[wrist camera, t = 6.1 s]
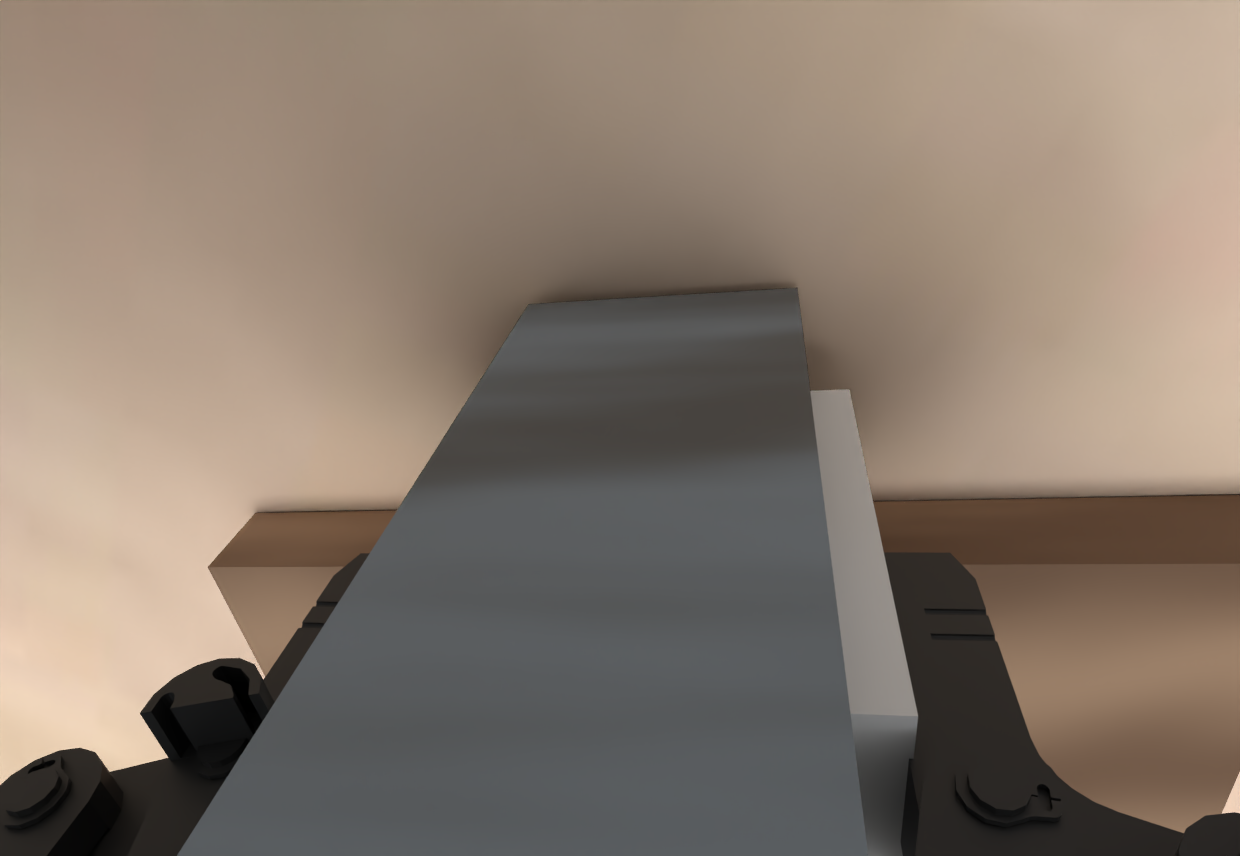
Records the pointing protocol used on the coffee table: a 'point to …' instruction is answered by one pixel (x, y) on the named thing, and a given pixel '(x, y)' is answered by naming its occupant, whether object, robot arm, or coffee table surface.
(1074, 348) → the coffee table surface
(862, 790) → the robot arm
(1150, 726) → the board
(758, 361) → the grey block
